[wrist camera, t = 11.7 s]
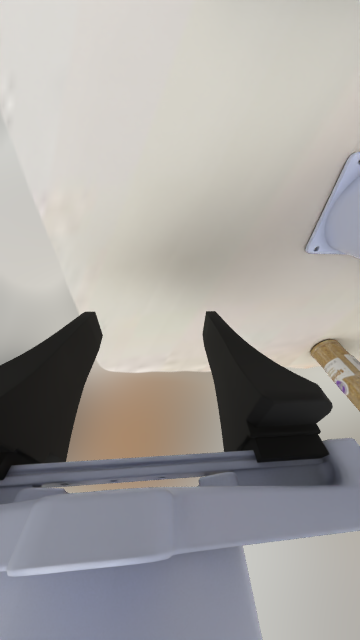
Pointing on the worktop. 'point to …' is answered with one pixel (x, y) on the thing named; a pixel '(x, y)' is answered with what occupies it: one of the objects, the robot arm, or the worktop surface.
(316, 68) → the worktop surface
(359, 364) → the sprinkles bottle
